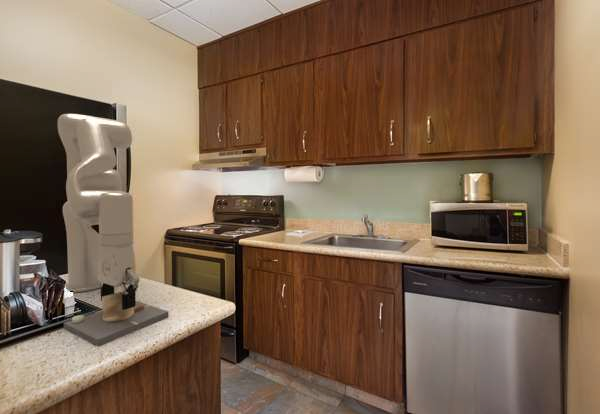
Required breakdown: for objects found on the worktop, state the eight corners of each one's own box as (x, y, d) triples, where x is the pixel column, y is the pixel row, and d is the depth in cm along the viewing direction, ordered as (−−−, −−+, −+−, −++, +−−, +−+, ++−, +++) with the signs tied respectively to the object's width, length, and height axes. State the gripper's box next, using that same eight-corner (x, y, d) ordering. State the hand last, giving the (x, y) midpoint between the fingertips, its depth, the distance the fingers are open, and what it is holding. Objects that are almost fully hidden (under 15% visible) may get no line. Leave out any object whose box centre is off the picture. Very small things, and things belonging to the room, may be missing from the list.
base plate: (63, 328, 74) (63, 318, 74) (134, 304, 90) (134, 296, 90) (98, 346, 66) (98, 334, 66) (168, 316, 82) (168, 307, 82)
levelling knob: (110, 325, 73) (109, 300, 73) (97, 317, 77) (97, 294, 77) (150, 311, 81) (149, 289, 81) (137, 305, 85) (136, 284, 85)
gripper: (83, 238, 78) (85, 301, 79) (121, 246, 69) (122, 316, 70) (113, 234, 84) (114, 293, 85) (151, 241, 76) (151, 306, 77)
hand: (118, 303), depth 78 cm, fingers open, 9 cm apart
